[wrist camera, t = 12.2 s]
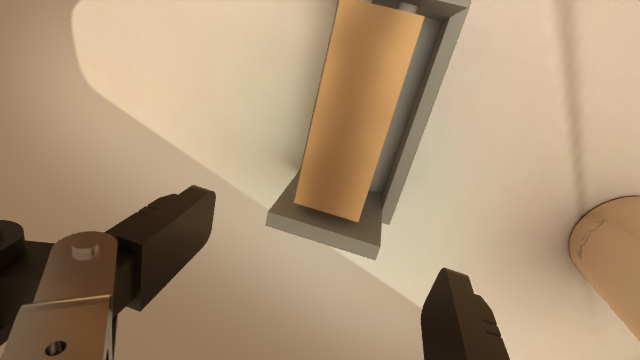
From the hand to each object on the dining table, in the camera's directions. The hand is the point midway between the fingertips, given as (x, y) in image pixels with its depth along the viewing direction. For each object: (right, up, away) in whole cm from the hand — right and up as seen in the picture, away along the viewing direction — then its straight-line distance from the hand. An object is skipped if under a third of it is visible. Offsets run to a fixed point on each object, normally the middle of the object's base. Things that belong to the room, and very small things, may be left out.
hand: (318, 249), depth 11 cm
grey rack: (+4, +10, +20) cm, 22 cm away
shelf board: (+3, +7, +13) cm, 16 cm away
